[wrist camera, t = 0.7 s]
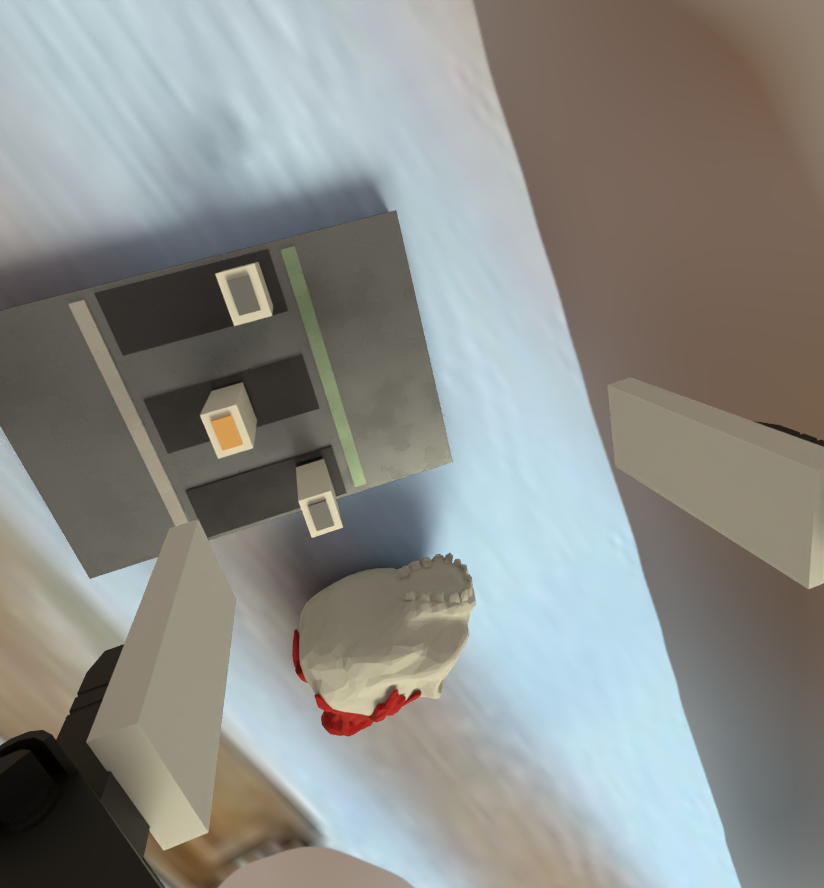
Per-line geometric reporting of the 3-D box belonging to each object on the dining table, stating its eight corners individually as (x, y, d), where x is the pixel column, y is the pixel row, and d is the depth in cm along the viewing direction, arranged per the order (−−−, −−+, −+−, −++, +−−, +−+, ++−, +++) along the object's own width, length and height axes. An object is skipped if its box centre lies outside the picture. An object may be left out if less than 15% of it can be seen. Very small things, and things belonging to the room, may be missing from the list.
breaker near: (241, 314, 29) (233, 326, 24) (225, 270, 28) (214, 273, 23) (273, 306, 29) (271, 316, 25) (258, 261, 28) (254, 263, 24)
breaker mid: (226, 429, 31) (217, 460, 26) (211, 391, 30) (199, 416, 25) (256, 420, 31) (253, 449, 27) (242, 382, 30) (236, 405, 26)
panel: (99, 561, 34) (88, 580, 32) (-37, 320, 28) (-61, 325, 26) (444, 451, 37) (453, 462, 35) (389, 212, 31) (396, 209, 29)
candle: (458, 532, 39) (408, 674, 45) (308, 518, 36) (274, 672, 42) (501, 622, 32) (433, 778, 38) (314, 613, 28) (272, 787, 34)
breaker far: (307, 500, 34) (312, 539, 29) (295, 467, 33) (298, 502, 28) (334, 491, 34) (343, 529, 29) (323, 458, 33) (330, 492, 28)
